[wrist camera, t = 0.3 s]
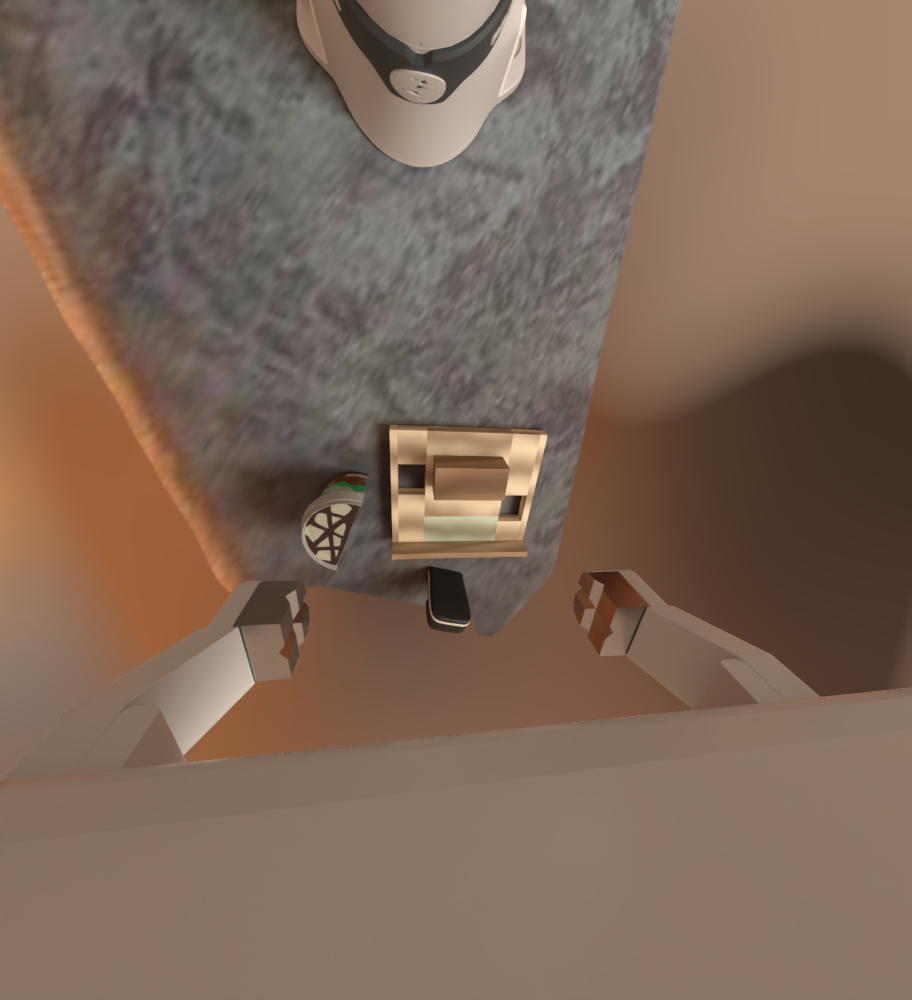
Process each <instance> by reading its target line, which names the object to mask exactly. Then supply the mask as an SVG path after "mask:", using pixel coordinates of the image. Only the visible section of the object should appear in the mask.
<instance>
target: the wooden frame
mask: <svg viewBox="0 0 912 1000" xmlns="http://www.w3.org/2000/svg"><path fill="white" fill-rule="evenodd" d="M389 431H390V467H391V504H392V541H393V543H392V559H427V558H472V557H517V556H527V553H528V551H527V549H526V547H525V544H524V542H523V536H524V532H525V528H526V524H527V519H528V515H529V511H530V507H531V503H532V498H533V494H534V490H535V486H536V481H537V477H538V473H539V469H540V465H541V460H542V456H543V452H544V448H545V444H546V439H547V434H546V433H545V432H544V431H543V430H526V429H499V428H472V427H445V426H418V425H391V424H390V429H389ZM434 455H452V456H494V457H503V458H504V460H505V461H506V463H507V465H508V467H509V468H510V472H509V477H508V482H507V488H506V493H505V495H522V498H521V502H520V507H519V511H518V514H499V512H500V506H501V501H463V500H434V497H433V488H432V480H433V459H434ZM398 464H421V465H425V488H398Z"/></svg>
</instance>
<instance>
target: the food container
mask: <svg viewBox="0 0 912 1000" xmlns="http://www.w3.org/2000/svg"><path fill="white" fill-rule="evenodd" d="M367 475H368V474H365V473H361V472H347V473H343V474H340V475H338V476H336V477H335V478H333V479H332V480H331V481H330V482H329V483H328V484H327V486H326V488H325V489H324V491H323V493H322V494H321V496H320V497H319V498H318V499H316V500H315V501H313V502H312V503H311V504H310V505H309V506H308V508H307V509H306V510H305V512H304V515H303V517H302V522H301V538H302V542H303V545H304V547H305V549H306V551H307V552H308V554H309V555H310V556H311V557H312V558H313V559H314V560H315V561H317V562H318V563H319V564H321V565H323V566H325V567H327V568H329V569H332V570H337V566H338V563H339V559H340V555H341V553H342V550H343V548H344V545H345V543H346V540H347V538H348V535H349V532H350V530H351V527H352V524H353V522H354V519H355V517H356V514H357V512H358V509H359V506H362V502H363V499H364V495H365V494H364V491H365V486H366V481H367Z"/></svg>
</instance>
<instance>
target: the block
mask: <svg viewBox="0 0 912 1000" xmlns="http://www.w3.org/2000/svg"><path fill="white" fill-rule="evenodd" d="M509 472H510V468H509V467H508V465H507V463H506V461H505V460H504V458H503V457H494V456H452V455H434V459H433V480H432V488H433V497H434V500H463V501H504V499H505V493H506V488H507V482H508V477H509Z"/></svg>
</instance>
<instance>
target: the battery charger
mask: <svg viewBox="0 0 912 1000" xmlns="http://www.w3.org/2000/svg"><path fill="white" fill-rule="evenodd" d="M427 582H428V600H427V602H426V614H427V622H428V625H429V626H430V627H431V628H432V629H434V630H439V631H444V632H451V633H461V632H462V631H463V630H464V629H465V628H466V626H467V625H468V624H469V622H470V619H471V614H470V608H469V603H468V598H467V594H466V590H465V586H464V581H463V575H462V574H461V573H457V572H453V571H449V570H444V569H439V568H433V567H430V568H429V569H428V572H427Z"/></svg>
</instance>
